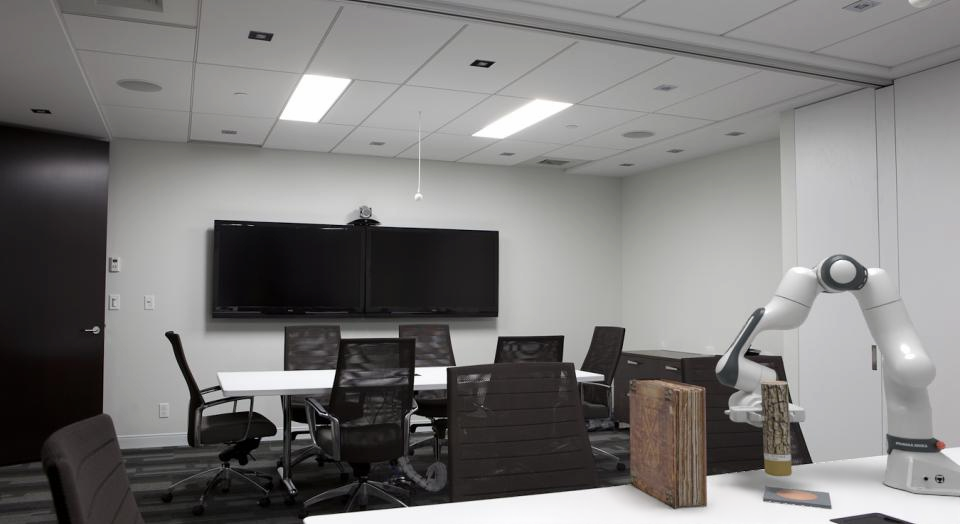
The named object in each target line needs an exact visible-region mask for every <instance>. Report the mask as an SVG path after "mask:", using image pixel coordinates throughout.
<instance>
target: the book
mask: <svg viewBox="0 0 960 524" xmlns="http://www.w3.org/2000/svg"><path fill="white" fill-rule="evenodd" d="M628 382H629V383H628V384H629V386H628V387H629V388H628V390H629V393H628V394H629V396H628V397H629V402H628V403H629V466H630V467H629V468H630V469H629V470H630V471H629V472H630V475H629V477H630V485H631V486H633V487H635V488H636V489H638V490H640V491H641V492H643V493H645V494H647V495H648V496H649V497H652V498H654V499H656V500H658V501H659V502H661V503H662V504H664V505H666V506H667V507H670V508H672V510H676V509H677V507H687V506H702V505H703V506H702V507H704V506H705V507H704V508H706V507H707V506H708V500H707V499H708V496H707V495H708V494H707V493H708V489H707V486H708V484H707V482H708V480H707V428H706V427H707V422H706V421H707V420H706V418H707V417H706V416H707V415H706V414H707V413H706V411H707V409H706V405H707V403H706V388H705V387H703V386H698V385H693V384H688V383H682V382H678V381H673V380H667V379H663V378H659V377H657V378H630V379H629V380H628Z"/></svg>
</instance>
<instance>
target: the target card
mask: <svg viewBox="0 0 960 524" xmlns="http://www.w3.org/2000/svg"><path fill="white" fill-rule="evenodd" d="M762 500H763V502H765V501H771V502H770V503H774V502H780V503H779V504H783V503H787V504H786V505H792V504H795V506H801V505H804V506H803V507H810V506H812V507H811V508H818V507H820V509H827V510H828V509H830V510H832V501H831V496H830V492H828V491H827V492H826V491H818V490H817V491H816V490H806V489H798V488H789V487H778V486H777V487H776V486H768V485H765V486H764V491H763V497H762Z"/></svg>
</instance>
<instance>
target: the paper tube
mask: <svg viewBox="0 0 960 524" xmlns="http://www.w3.org/2000/svg"><path fill="white" fill-rule="evenodd" d="M761 394H762V415H764V416H765V418H764V419H765V421H764V422H763V427H762V433H763V434H762V437H763V438H762V439H763V460H764V472H765V474H766V475H769V476H773V477H789V476H791V475H792V473H793V472H792V471H793V470H792V450H791V447H792V446H791V445H792V444H791V428H790V426H791V425H790V423H791V422H789V403H790V401H789V384H788V382H787V381H786V380H785V381H784V380H779V381H761Z"/></svg>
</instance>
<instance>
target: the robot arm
mask: <svg viewBox="0 0 960 524" xmlns="http://www.w3.org/2000/svg"><path fill="white" fill-rule="evenodd" d="M845 292H848V293H851V294H852V295H853V296H854V298H855V299H856V300H857V303H858V306H859V307H860V310H861V313H862V315H863V317H864V320H865V321H864V322H865V323H866V325H867V328H868V330H869V332H870V334H871V335H870V336H871V337H872V339H873V340H874V342H875V345H876V346H877V348H878V350H879V352H880V354H881V356H882V358H883V359H882V362H881V366H882V380H883V386H884V387H883V389H884V395H885V402H886V417H887V418H886V419H887V420H886V421H887V433H886V437H885V451H886V454H887V459H886V468H885V471H884V472H885V473H884V477H883V479H882V484H884V485H886V486H889V487H892V488H895V489H899V490H902V491H903V490H904V491H907V492H909V493H914V494H920V495H922V494H923V495H939V496H940V495H941V496H953V497H954V496H955V497H956V496H957V497H960V465H959V464H958V463H957V462H955V461H954V460H952V459H951V458H950V457H949V456H948V455H946V454H945V453H943V452H942V451H943V450H944V449H946V448H947V447H946V443H944V441H942V440H939V439H938V438H937V439H936V438H935V437H934V436H933V411H932V407H931V403H930V398H929V391H928V386H930V384H932V383H933V381H934V380H935V378H936V374H937V369H936V365H935V364H934V361H933V360H932V358H931V355H930V353H929V351H928V349H927V347H926V346H925V343H924V342H923V340H922V338H921V336H920V335H919V332H918V331H917V329H916V327H915V326H914V323H913V322H912V319H911V317H910V315H909V313H908V309H907V308H906V305H905V303H904V300H903V298H902V296H901V294H900V292H899V289H898V288H897V286H896V284H895V283H894V281H893V279H892V277H891V276H890V275H889V274H888V272H887V271H886V270H885V269H883V268H879V267H870V268H866V267H865V266H864V265H862V264H861V263H860V262H859V261H857V259H855V258H853V257H852V256H850V255H846V254H834V255H830V256H828V257H825V258H824V259H822V260H821V262H819V263H818V264H816V265H815V266H814V267H812V268H807V267H805V266H794V267H792V268H791V267H790V268H789V269H788V270H787V271H786V273H785V275H784V276H783V278H782V279H781V281H780V283H779V284H778V286H777V288H776V290H775V292H774V294H773V297H772V298H771V300H770V301H769V302H768V303H767V304H766V305H765V306H763V307H758V308H756V309H755V310H754V311H753V312H752V314H750V316H749V318H748V319H747V321H746V322H745V323H744V325H743V326H742V328H741V330H739V332H738V334H737V335H736V337H735V339H734V340H733V341H732V343H731V344H730V346H729V347H728V349H727V350H726V351H725V352H724V354H723V355H722V356H721V358H720V359H719V360H718V362H717V364H716V366H715V370H714V373H715V375H716V378H717V381H719V383H720V384H721V385H722V386H723V385H724V386H725V387H726V386H727V387H730V388H734V389H737V390H739V391H737V392H734V393H732V394H731V396H730V397H729V399H728V408H729V409H727V410H724V414H725V415H729V419H730V420H731V421H732V422H734V423H747V424H749V425H751V426H753V427H756V428H763V422H764V421H765V419H764V418H765V416H764V415H762V394H761V381H780V380H779V376H778V373H777V372H776V370H775V369H773V368H770V367H767V366H766V365H763V364H760V363H757V362H755V361H753V360H751V359H748V358H746V357H745V354H746V353H747V351H748V349H749V348H750V346H751V345H752V343H753V342H754V340H755V339H756V337H757V336H758V335H759V334H760V333H762V332H765V331H772V330H774V331H775V330H776V331H790V330H794V329H797V328H800V327H801V326H802V325H803V324H804V323H805V322H806V320H807V319H808V316H809V314H810V313H811V312H810V311H811V309H812V307H813V305H814V302H815V300H816V299H817V297H818V295H820V294H821V293H825V294H841V293H845ZM805 422H806V410H805V408H804V407H801V406H799V405H797V404H795V403H794V404H793V403H790V402H789V423H805Z"/></svg>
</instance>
